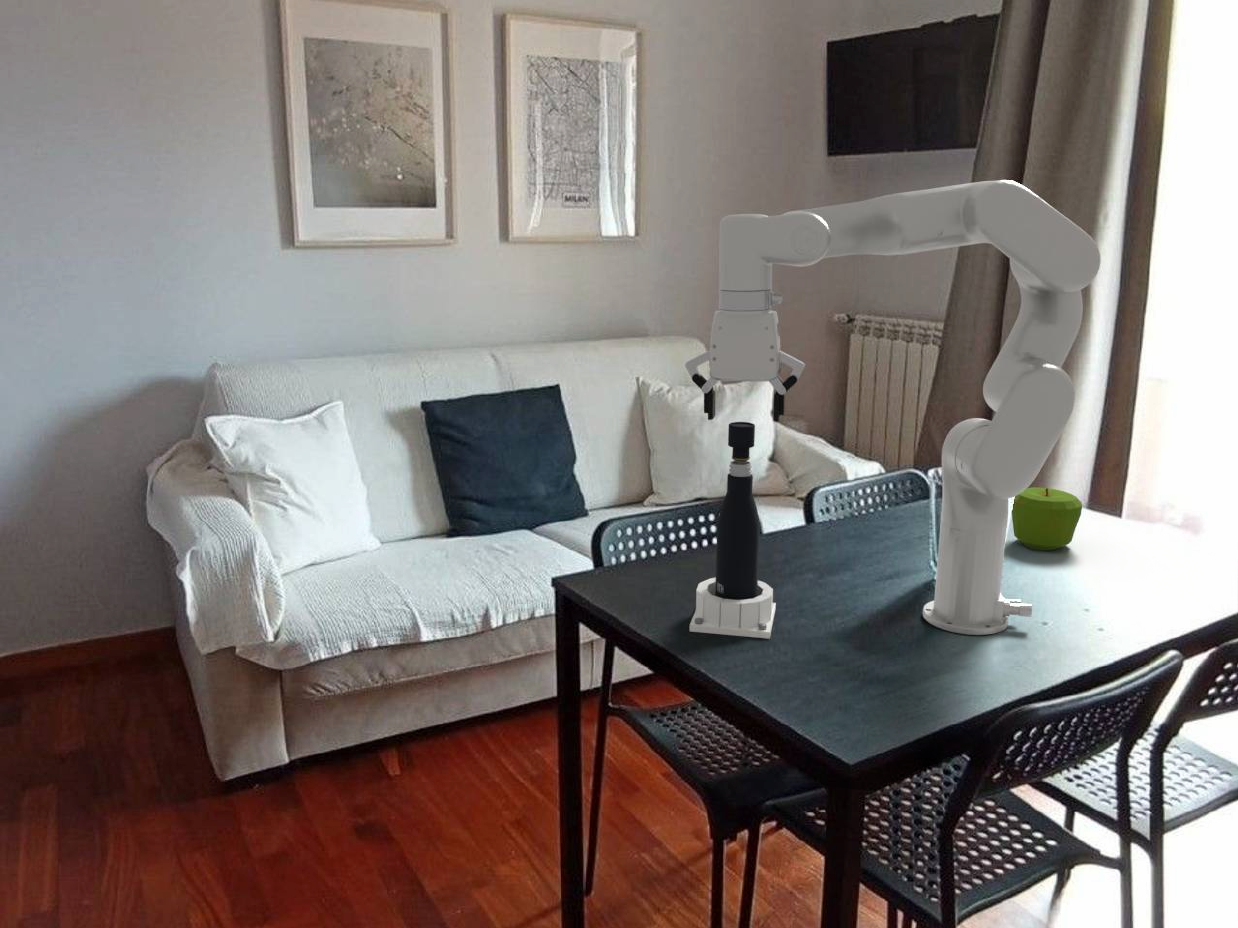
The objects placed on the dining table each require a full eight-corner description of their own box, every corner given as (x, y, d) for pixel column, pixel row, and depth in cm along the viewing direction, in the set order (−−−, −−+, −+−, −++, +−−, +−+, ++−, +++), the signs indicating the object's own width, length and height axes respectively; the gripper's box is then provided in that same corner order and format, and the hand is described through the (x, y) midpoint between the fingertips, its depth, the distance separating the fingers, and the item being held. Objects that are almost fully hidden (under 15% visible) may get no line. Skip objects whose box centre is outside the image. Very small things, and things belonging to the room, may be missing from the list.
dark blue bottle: (761, 610, 161) (769, 422, 154) (749, 624, 155) (756, 430, 148) (722, 603, 164) (728, 418, 156) (708, 617, 158) (714, 426, 151)
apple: (1088, 556, 190) (1095, 497, 187) (1021, 555, 190) (1027, 496, 187) (1060, 535, 202) (1066, 479, 199) (998, 534, 202) (1003, 479, 199)
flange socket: (775, 608, 164) (776, 579, 163) (769, 638, 153) (770, 607, 152) (700, 602, 167) (701, 573, 166) (689, 631, 155) (690, 600, 154)
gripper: (807, 300, 150) (804, 415, 154) (689, 300, 153) (689, 412, 158) (805, 305, 143) (802, 425, 147) (681, 304, 146) (682, 422, 150)
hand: (743, 419), depth 152 cm, fingers open, 9 cm apart
